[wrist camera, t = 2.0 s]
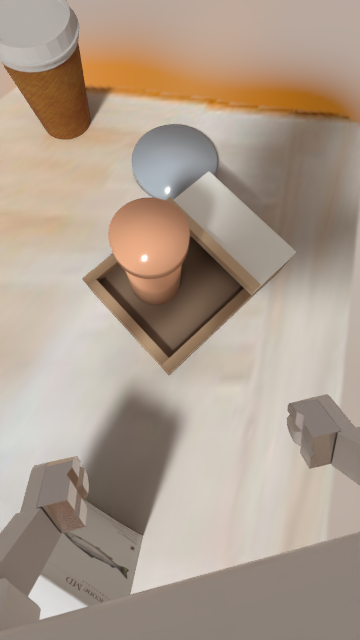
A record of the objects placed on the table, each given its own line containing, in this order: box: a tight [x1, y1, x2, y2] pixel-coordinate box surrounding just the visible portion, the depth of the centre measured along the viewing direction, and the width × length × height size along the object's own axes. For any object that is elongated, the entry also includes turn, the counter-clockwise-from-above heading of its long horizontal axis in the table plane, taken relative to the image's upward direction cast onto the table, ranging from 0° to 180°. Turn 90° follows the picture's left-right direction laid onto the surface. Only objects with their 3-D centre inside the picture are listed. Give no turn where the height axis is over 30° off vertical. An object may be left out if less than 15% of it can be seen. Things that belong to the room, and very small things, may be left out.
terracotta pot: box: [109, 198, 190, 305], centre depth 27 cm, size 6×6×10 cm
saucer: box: [132, 124, 217, 200], centre depth 40 cm, size 11×11×1 cm
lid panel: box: [165, 171, 296, 295], centre depth 32 cm, size 13×7×2 cm, turn 43°
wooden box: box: [82, 236, 293, 375], centre depth 34 cm, size 13×18×5 cm
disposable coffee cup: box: [0, 0, 90, 139], centre depth 36 cm, size 10×10×12 cm
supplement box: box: [28, 500, 143, 620], centre depth 24 cm, size 7×7×13 cm
